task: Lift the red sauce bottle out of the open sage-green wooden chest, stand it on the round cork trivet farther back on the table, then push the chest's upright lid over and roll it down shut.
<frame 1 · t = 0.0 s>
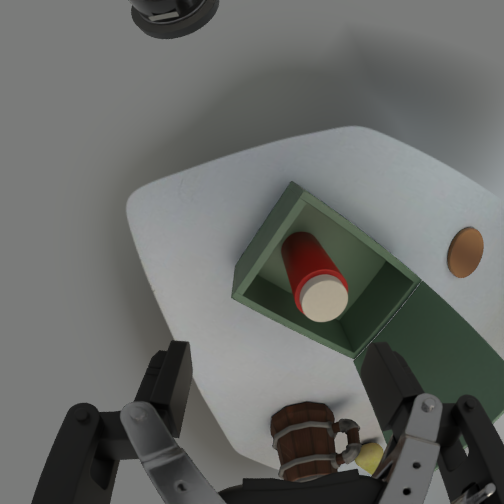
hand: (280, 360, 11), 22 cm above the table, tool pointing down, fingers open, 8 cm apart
mug: (311, 414, 44), on the table
fruit: (366, 443, 50), on the table
chest: (319, 260, 34), on the table
chest lid: (434, 380, 20), point 17 cm above the table, hinge at 90.0°
sauce bottle: (300, 250, 32), point 1 cm above the table, touching chest
trivet: (464, 252, 33), on the table
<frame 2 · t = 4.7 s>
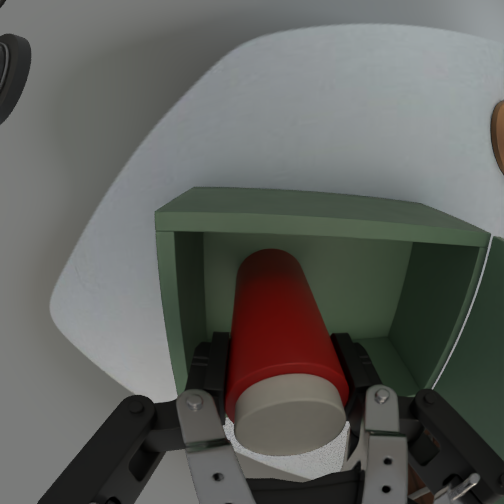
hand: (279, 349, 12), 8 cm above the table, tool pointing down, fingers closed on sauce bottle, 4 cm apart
mug: (406, 430, 29), on the table
chest: (311, 276, 20), on the table
sauce bottle: (270, 280, 19), point 1 cm above the table, touching chest, gripper
when the fingers open (8 cm above the table, at t = 16.2 s): sauce bottle stays where it is, resting on trivet.
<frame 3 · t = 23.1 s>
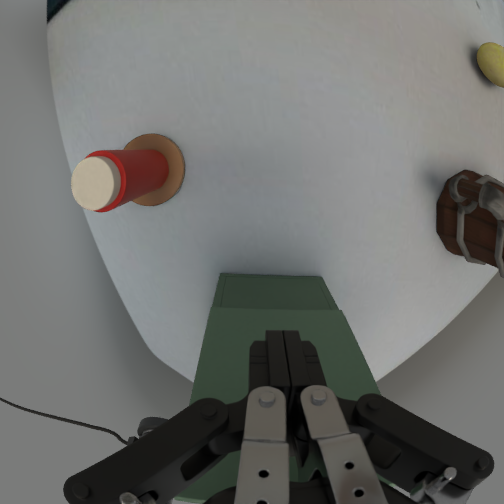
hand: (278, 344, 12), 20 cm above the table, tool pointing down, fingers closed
mug: (456, 204, 30), on the table
fruit: (481, 66, 22), on the table
chest: (267, 332, 35), on the table
chest lid: (291, 361, 16), point 17 cm above the table, hinge at 88.7°, touching hand
sauce bottle: (149, 170, 28), point 1 cm above the table, touching trivet
trivet: (150, 169, 28), on the table
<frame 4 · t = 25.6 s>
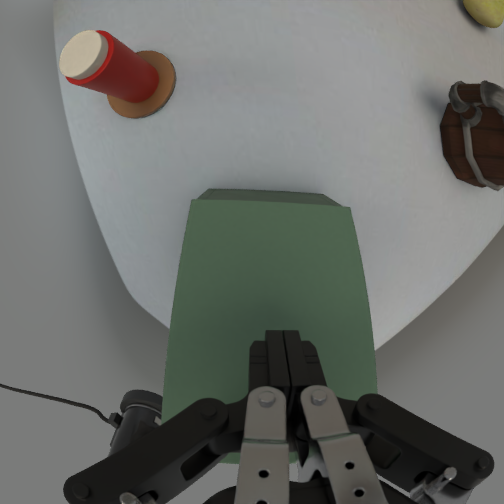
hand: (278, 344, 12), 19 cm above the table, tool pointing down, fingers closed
mug: (460, 131, 25), on the table
fruit: (469, 11, 18), on the table
chest: (262, 264, 31), on the table
chest lid: (278, 305, 14), point 16 cm above the table, hinge at 51.9°, touching gripper
sauce bottle: (139, 83, 23), point 1 cm above the table, touching trivet
trivet: (141, 84, 24), on the table
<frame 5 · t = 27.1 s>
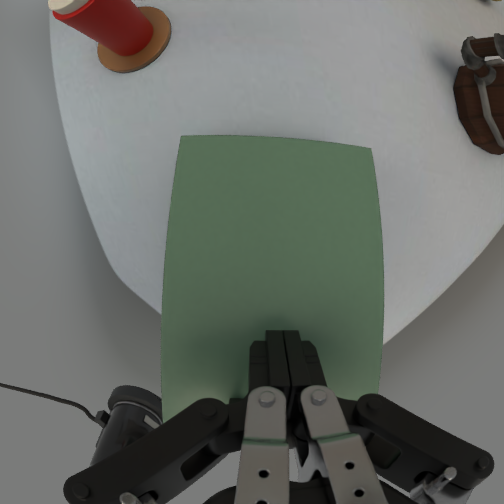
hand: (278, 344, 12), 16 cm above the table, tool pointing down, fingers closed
mug: (473, 96, 21), on the table
chest lid: (283, 280, 13), point 14 cm above the table, hinge at 30.5°, touching gripper
sauce bottle: (132, 36, 19), point 1 cm above the table, touching trivet
trivet: (134, 39, 20), on the table
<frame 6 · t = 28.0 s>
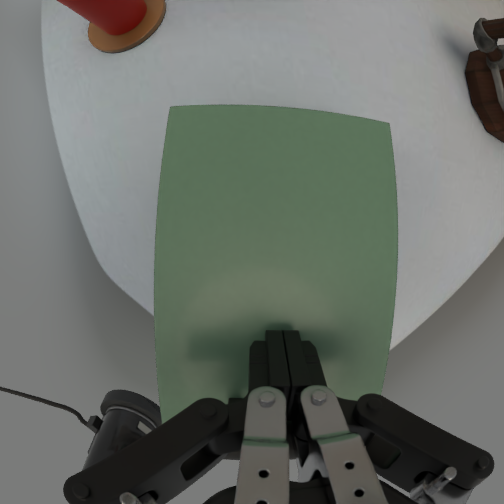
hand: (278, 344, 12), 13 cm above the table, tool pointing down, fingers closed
mug: (484, 83, 18), on the table
chest lid: (287, 281, 11), point 13 cm above the table, hinge at 20.9°, touching gripper
sauce bottle: (124, 16, 16), point 1 cm above the table, touching trivet
trivet: (126, 18, 17), on the table
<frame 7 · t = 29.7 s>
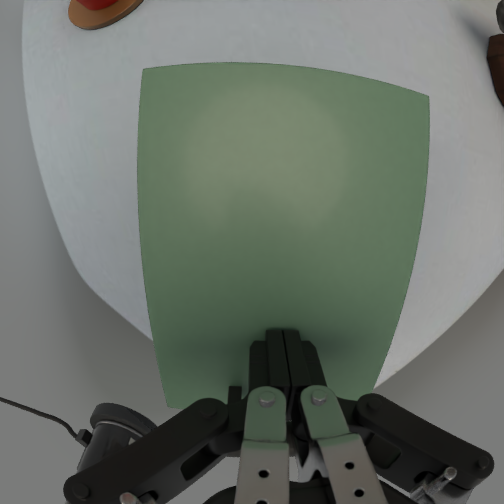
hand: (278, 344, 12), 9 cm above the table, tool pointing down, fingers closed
chest lid: (290, 301, 10), point 11 cm above the table, hinge at 1.2°, touching gripper
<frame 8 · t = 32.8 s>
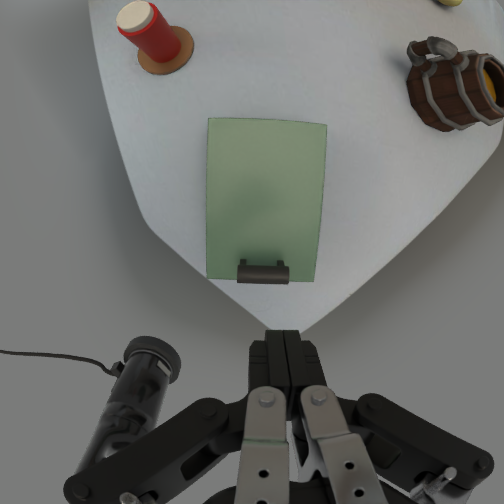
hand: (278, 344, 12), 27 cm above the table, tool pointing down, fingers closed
mug: (425, 87, 31), on the table
chest lid: (265, 205, 27), point 11 cm above the table, hinge at 1.2°
sauce bottle: (164, 48, 29), point 1 cm above the table, touching trivet
trivet: (165, 50, 29), on the table
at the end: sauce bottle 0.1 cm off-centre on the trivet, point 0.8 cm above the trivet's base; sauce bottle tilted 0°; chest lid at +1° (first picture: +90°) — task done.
